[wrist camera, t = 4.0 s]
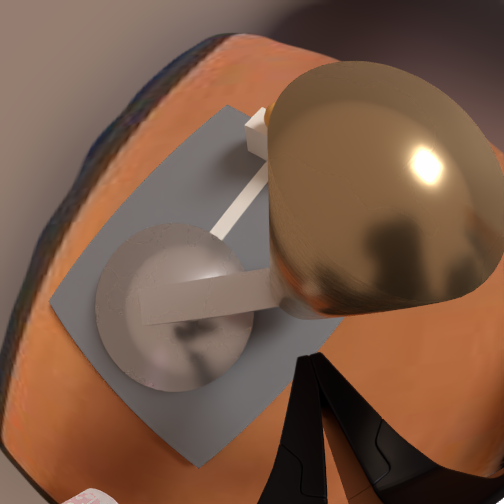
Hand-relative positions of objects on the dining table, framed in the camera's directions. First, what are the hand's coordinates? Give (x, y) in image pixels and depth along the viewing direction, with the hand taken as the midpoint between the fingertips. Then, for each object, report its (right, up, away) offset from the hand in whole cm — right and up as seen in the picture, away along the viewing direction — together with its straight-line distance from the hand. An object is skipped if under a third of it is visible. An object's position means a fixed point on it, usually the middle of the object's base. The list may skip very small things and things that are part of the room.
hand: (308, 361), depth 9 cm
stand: (-5, +2, +9) cm, 11 cm away
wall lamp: (-4, +1, +8) cm, 9 cm away
